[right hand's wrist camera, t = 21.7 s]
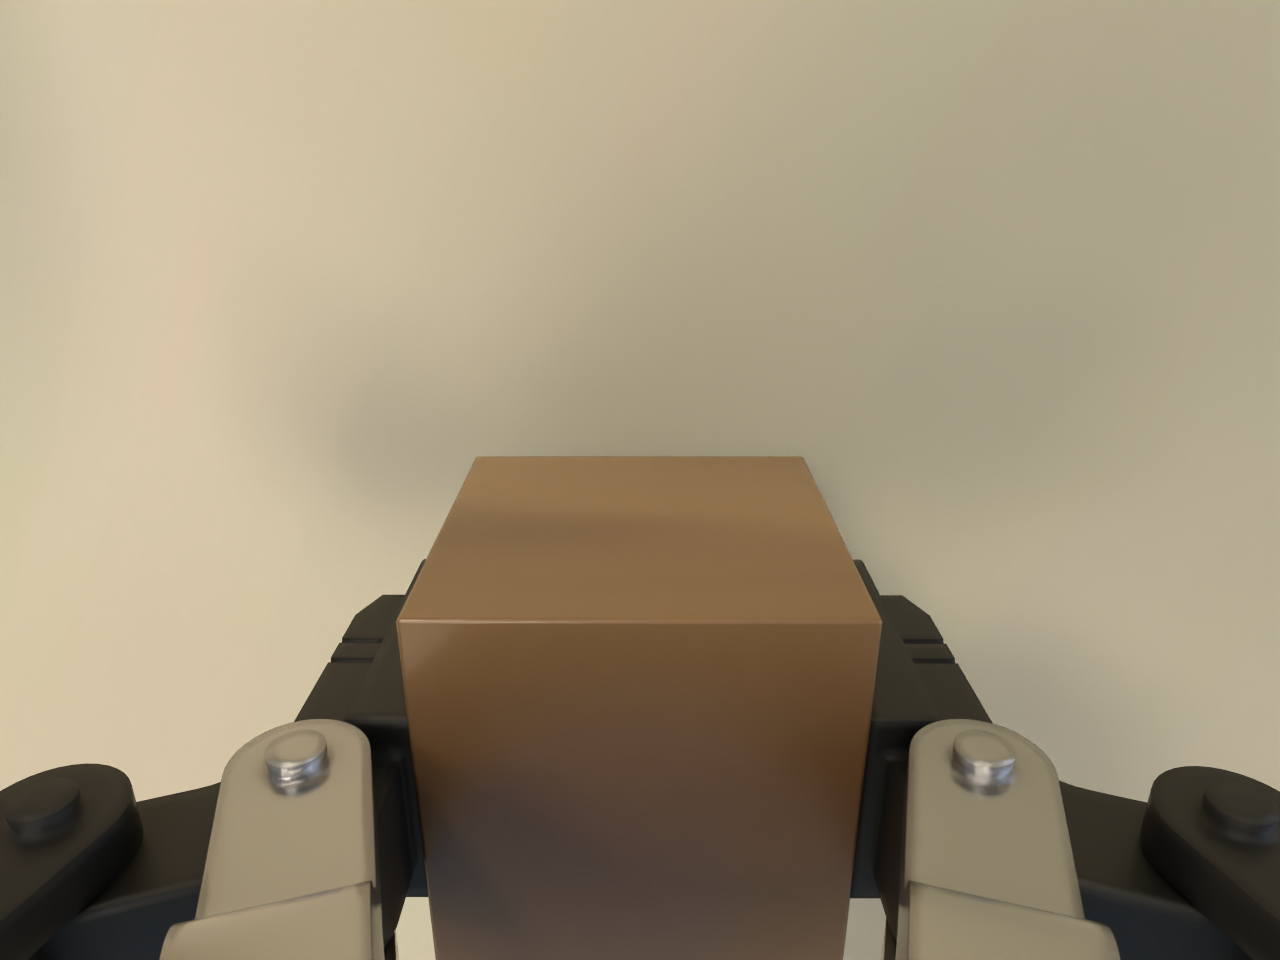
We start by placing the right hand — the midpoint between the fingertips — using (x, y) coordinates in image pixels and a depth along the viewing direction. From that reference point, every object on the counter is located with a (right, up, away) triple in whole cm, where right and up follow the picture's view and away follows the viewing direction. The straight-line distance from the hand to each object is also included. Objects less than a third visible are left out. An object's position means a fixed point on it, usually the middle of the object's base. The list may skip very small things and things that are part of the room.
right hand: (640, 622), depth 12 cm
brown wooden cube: (0, 0, 0) cm, 1 cm away
